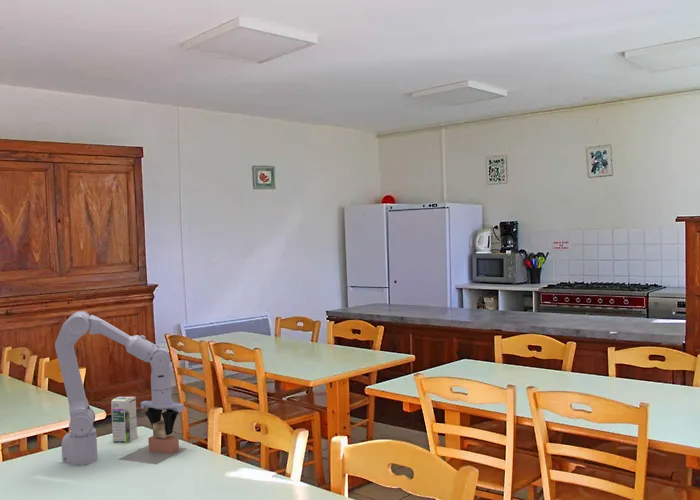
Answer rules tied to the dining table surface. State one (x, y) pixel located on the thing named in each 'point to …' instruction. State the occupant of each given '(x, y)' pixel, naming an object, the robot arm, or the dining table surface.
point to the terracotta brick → (164, 444)
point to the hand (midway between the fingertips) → (163, 433)
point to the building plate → (149, 456)
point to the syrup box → (124, 419)
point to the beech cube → (160, 430)
